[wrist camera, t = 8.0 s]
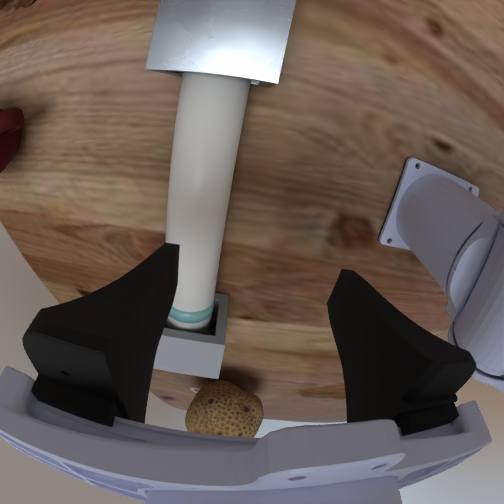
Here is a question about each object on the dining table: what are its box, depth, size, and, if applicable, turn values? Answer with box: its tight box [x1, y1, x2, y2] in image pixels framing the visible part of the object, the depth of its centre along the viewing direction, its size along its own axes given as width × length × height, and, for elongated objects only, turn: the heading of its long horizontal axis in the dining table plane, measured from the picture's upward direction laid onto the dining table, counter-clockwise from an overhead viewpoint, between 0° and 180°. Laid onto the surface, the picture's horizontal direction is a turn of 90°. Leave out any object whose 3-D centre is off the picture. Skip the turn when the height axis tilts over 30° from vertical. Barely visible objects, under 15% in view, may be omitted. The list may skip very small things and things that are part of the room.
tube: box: [165, 72, 251, 335], centre depth 19 cm, size 23×4×4 cm, turn 169°
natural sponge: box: [185, 380, 264, 438], centre depth 30 cm, size 9×9×10 cm
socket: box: [153, 293, 229, 379], centre depth 25 cm, size 5×7×6 cm
